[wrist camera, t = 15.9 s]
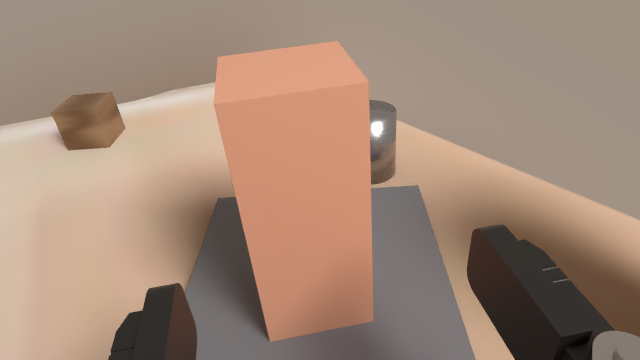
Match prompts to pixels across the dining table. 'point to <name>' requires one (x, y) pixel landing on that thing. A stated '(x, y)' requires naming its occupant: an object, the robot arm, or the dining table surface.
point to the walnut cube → (89, 121)
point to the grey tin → (382, 141)
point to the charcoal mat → (346, 342)
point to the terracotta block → (301, 182)
